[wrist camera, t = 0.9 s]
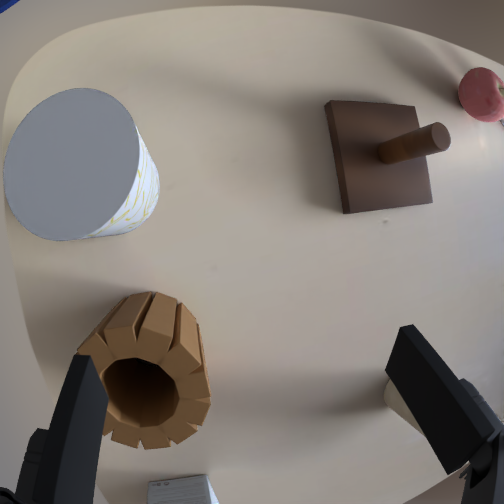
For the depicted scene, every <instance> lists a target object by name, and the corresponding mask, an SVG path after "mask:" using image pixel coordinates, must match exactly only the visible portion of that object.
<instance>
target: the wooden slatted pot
mask: <svg viewBox="0 0 504 504" xmlns="http://www.w3.org/2000/svg"><path fill="white" fill-rule="evenodd" d="M176 303H177V299H175V298H172V297H169V296H167V295H164V294H161V293H158V292H156V295H155V297H154V299H152V294H151V292H144V293H138V294H132V295H130V297H129V298H128V299H127V298H126V297H125V298H124V299H123V300H122V301H120V302H119V303H118V304H117V305H116V306H115V307H114V308H113V309H111V311H110V312H109V313H108V314H107V315H106V316H105V317H104V318H103V320H102V321H101V322H100V323H99V324H98V325H97V327H96V328H95V329H94V330H93V331H92V332H91V334H90V335H89V336H88V337H87V338H86V339H85V341H84V342H83V343H82V344H81V345H80V347H79V348H78V349H77V351H78V352H77V353H76V354H75V355H91V358H92V360H93V363H94V365H95V368H96V370H97V372H98V375H99V377H100V379H101V382H102V384H103V386H104V389H105V391H106V393H107V395H108V397H109V402H108V406H107V412H106V417H105V422H104V428H103V433H102V435H104V436H105V435H107V434H108V433H110V432H111V431H113V433H112V437H111V440H112V441H115V442H118V443H121V444H124V445H127V446H130V447H133V448H138V445H139V441H140V440H141V442H142V445H143V447H144V449H145V450H146V449H157V448H166V447H171V440H172V441H173V442H175V443H176V444H179V443H181V442H182V441H184V440H185V439H187V438H188V437H190V436H191V435H193V434H194V433H196V432H197V431H198V429H197V425H200V426H202V425H203V422H204V420H205V417H206V415H207V412H208V410H209V407H210V405H211V402H210V397H211V391H210V385H209V380H208V374H207V368H206V362H205V356H204V350H203V344H202V339H201V334H200V329H199V324H196V318H195V317H194V316H193V315H192V314H191V312H190V311H189V310H188V309H187V308H186V307H185V306H184V305H183V303H181V304H179V305H178V306H177V307H176ZM135 357H137V358H140V359H143V360H145V361H148V362H151V363H154V364H157V365H159V366H154V367H150V366H147V365H144V364H142V363H139V362H137V361H136V360H135V359H134V358H135Z"/></svg>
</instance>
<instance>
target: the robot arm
mask: <svg viewBox="0 0 504 504" xmlns="http://www.w3.org/2000/svg"><path fill="white" fill-rule="evenodd" d="M385 371H386V373H387V374H388V376H389V377H390V379H391V381H392V382H393V384H394V385H395V387H396V389H397V390H398V392H399V394H400V395H401V397H402V398H403V400H404V402H405V403H406V405H407V407H408V408H409V410H410V411H411V413H412V415H413V416H414V418H415V420H416V421H417V423H418V425H419V426H420V428H421V430H422V431H423V433H424V435H425V437H426V438H427V440H428V442H429V443H430V445H431V447H432V449H433V450H434V452H435V454H436V455H437V457H438V459H439V461H440V462H441V464H442V466H443V468H444V470H445V471H446V473H447V475H449V474H451V473H452V472H454V471H456V470H458V469H460V468H461V467H462V466H463V465H464V464H465V463H466V462H467V461H468V460H469V462H470V465H469V466H468V467H467V468H466V469H465V470H464V471H463V472H462V473H461V474H460V477H459V478H462V477H463V476H464V475H465V474H466V473H467V476H466V477H465V478H464V479H466V482H465V487H464V492H463V497H462V501H461V504H504V425H503V424H502V422H501V421H500V420H499V418H498V417H497V416H496V414H495V413H494V412H493V410H492V409H491V408H490V406H489V405H488V404H487V402H486V401H484V398H483V397H482V396H481V395H479V392H478V391H477V389H476V388H475V387H474V386H473V384H471V383H470V382H468V381H467V380H465V379H464V378H463V379H461V380H458V378H457V377H456V376H455V375H454V373H453V372H452V371H451V370H450V368H449V367H448V366H447V365H446V363H445V362H444V361H443V360H442V358H441V357H440V356H439V355H438V353H437V352H436V351H435V350H434V349H433V347H432V346H431V345H430V344H429V342H428V341H427V340H426V339H425V338H424V336H423V335H422V334H421V333H420V332H419V331H418V329H417V328H416V327H415V326H414V325H413V324H412V325H408V326H403V327H400V329H399V332H398V335H397V338H396V341H395V344H394V347H393V350H392V352H391V355H390V358H389V361H388V363H387V366H386V369H385ZM108 402H109V397H108V395H107V393H106V391H105V389H104V386H103V384H102V382H101V379H100V377H99V375H98V372H97V370H96V368H95V365H94V363H93V360H92V358H91V355H74V356H73V359H72V362H71V364H70V367H69V370H68V372H67V375H66V378H65V381H64V384H63V386H62V389H61V392H60V395H59V398H58V401H57V404H56V407H55V411H54V414H53V417H52V420H51V423H50V427H49V430H46V429H39V428H37V430H36V431H35V432H34V433H33V435H32V436H31V437H30V440H29V443H28V446H27V452H26V453H25V456H24V461H23V464H22V468H21V471H20V475H19V479H18V483H17V488H16V492H15V494H14V493H13V492H12V491H10V490H9V489H7V488H3V487H0V504H93V497H94V488H95V480H96V472H97V465H98V458H99V451H100V445H101V439H102V433H103V428H104V422H105V417H106V412H107V406H108Z"/></svg>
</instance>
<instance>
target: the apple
mask: <svg viewBox="0 0 504 504" xmlns="http://www.w3.org/2000/svg"><path fill="white" fill-rule="evenodd" d="M458 95H459V100H460V102H461V104H462V106H463V108H464V109H465V110H466V112H467V113H468V114H469V115H471V116H472V117H473V118H475V119H477V120H480V121H483V122H495V121H498V120H501V119H502V118H503V117H504V83H503V82H502V80H501V79H500V78H499V77H498V76H497V75H496V74H495V73H494V72H493V71H491V70H489V69H486V68H483V67H479V68H474V69H471V70H470V71H468V72H467V73H466V74H465V76H464V77H463V78H462V80H461V83H460V85H459V89H458Z"/></svg>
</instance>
